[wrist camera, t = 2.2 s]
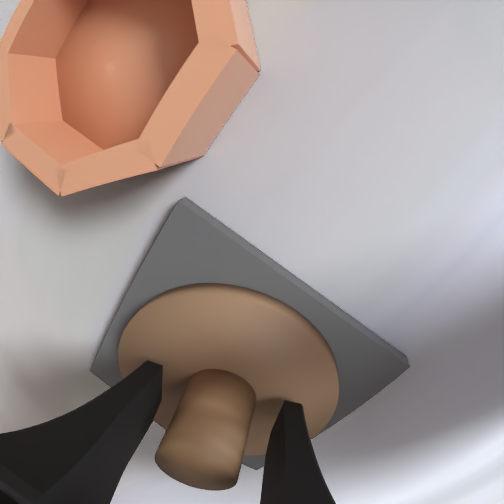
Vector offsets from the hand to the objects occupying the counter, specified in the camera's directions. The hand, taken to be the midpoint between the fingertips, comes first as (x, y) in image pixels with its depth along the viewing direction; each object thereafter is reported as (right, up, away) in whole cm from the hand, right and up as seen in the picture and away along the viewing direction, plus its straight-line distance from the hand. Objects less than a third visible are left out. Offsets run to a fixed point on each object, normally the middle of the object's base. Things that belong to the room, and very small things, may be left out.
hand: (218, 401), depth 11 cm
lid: (0, 0, +1) cm, 1 cm away
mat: (0, +1, +2) cm, 2 cm away
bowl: (-2, +12, -2) cm, 12 cm away
